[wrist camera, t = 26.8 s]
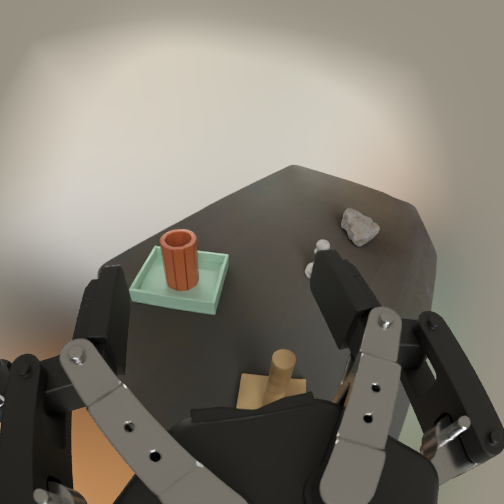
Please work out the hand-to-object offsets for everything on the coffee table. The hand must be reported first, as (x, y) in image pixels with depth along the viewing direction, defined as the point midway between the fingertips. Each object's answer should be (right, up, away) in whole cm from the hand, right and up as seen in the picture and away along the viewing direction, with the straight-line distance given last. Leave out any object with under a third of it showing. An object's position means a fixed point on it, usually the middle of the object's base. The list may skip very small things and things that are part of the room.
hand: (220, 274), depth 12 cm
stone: (+27, +5, +59) cm, 65 cm away
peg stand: (+4, -20, +24) cm, 31 cm away
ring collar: (-11, -4, +42) cm, 44 cm away
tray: (-12, -5, +43) cm, 45 cm away
